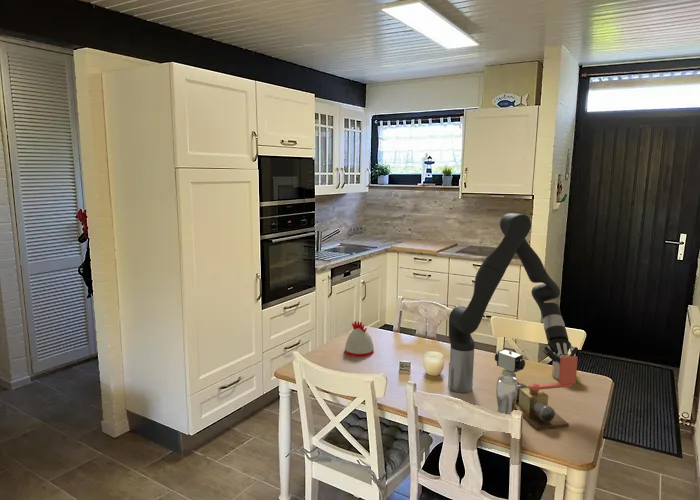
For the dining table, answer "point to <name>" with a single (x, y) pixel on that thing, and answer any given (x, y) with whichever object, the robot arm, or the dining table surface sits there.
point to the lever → (561, 375)
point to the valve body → (537, 409)
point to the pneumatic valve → (509, 362)
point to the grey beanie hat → (359, 342)
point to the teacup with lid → (556, 369)
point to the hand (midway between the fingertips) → (566, 372)
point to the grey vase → (506, 394)
